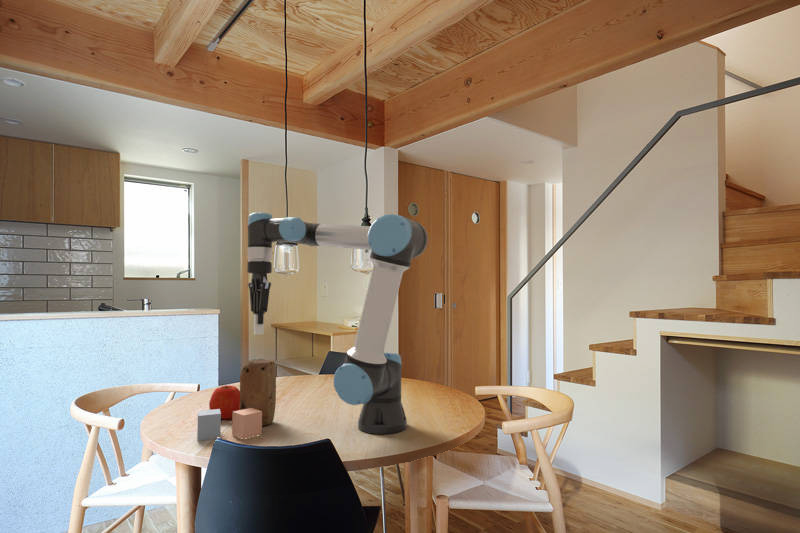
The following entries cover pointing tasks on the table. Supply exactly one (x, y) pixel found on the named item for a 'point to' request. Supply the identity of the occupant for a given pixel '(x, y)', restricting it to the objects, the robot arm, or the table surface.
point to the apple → (225, 401)
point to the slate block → (209, 424)
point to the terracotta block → (246, 423)
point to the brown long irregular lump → (259, 388)
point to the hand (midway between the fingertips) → (258, 334)
